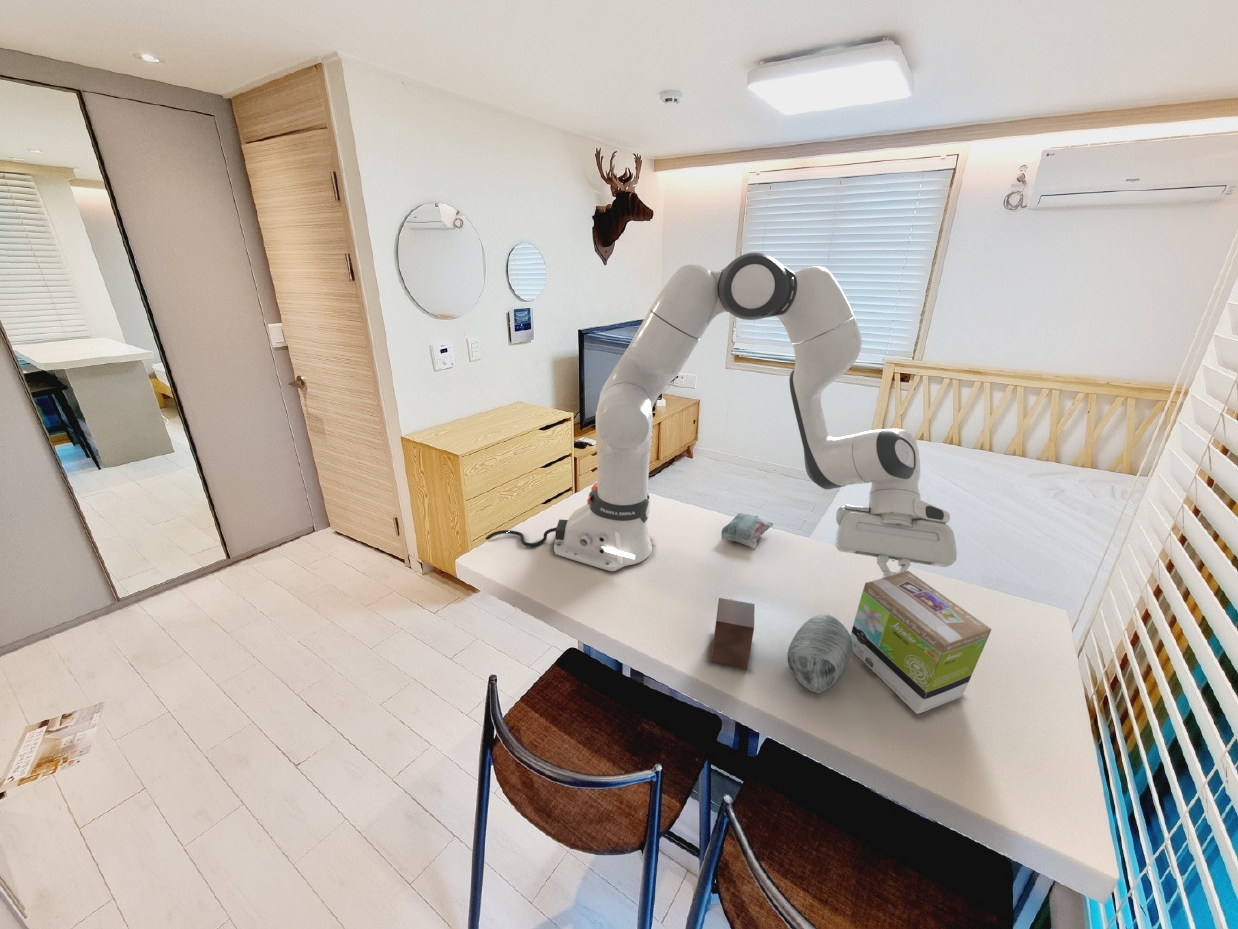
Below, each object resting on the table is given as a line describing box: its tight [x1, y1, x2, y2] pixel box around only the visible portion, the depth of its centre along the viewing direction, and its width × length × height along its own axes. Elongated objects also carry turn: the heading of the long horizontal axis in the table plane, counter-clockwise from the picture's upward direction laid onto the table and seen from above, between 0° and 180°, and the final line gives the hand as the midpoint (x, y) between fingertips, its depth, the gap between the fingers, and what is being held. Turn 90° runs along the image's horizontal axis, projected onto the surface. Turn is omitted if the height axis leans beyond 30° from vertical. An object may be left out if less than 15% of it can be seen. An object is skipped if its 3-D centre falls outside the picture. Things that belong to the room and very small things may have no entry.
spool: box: [786, 613, 853, 694], centre depth 83 cm, size 14×10×10 cm
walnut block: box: [710, 597, 755, 670], centre depth 85 cm, size 6×6×9 cm
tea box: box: [850, 570, 992, 715], centre depth 81 cm, size 15×10×15 cm
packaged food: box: [721, 512, 774, 550], centre depth 119 cm, size 9×12×5 cm
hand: (893, 582), depth 93 cm, fingers closed
